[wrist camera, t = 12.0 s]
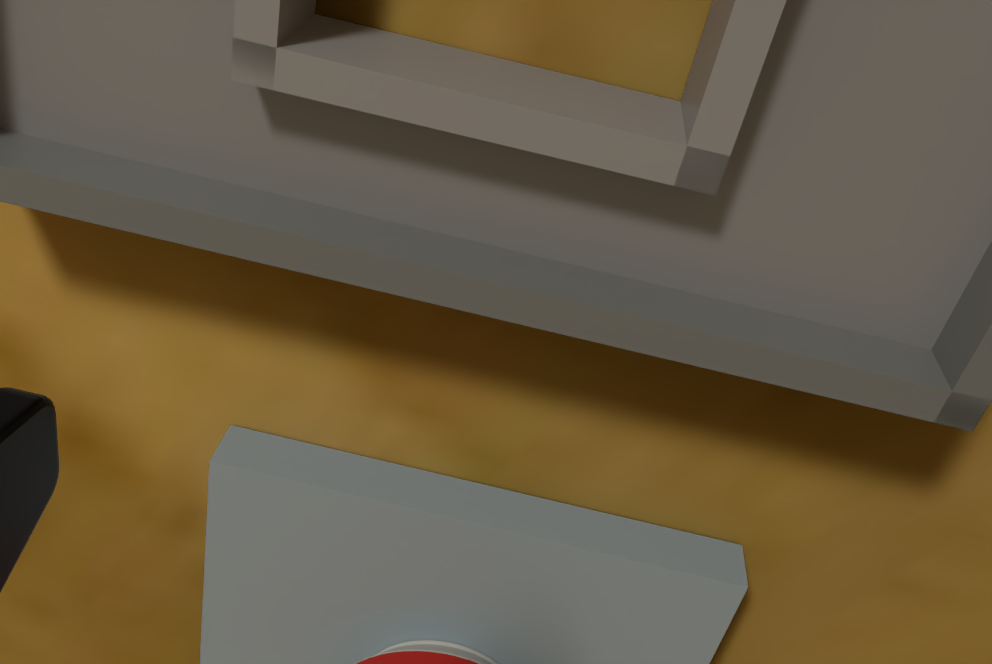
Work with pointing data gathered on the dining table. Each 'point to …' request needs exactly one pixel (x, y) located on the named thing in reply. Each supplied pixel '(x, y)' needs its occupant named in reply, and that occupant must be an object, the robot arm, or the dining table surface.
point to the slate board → (441, 567)
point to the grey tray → (556, 176)
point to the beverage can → (428, 654)
